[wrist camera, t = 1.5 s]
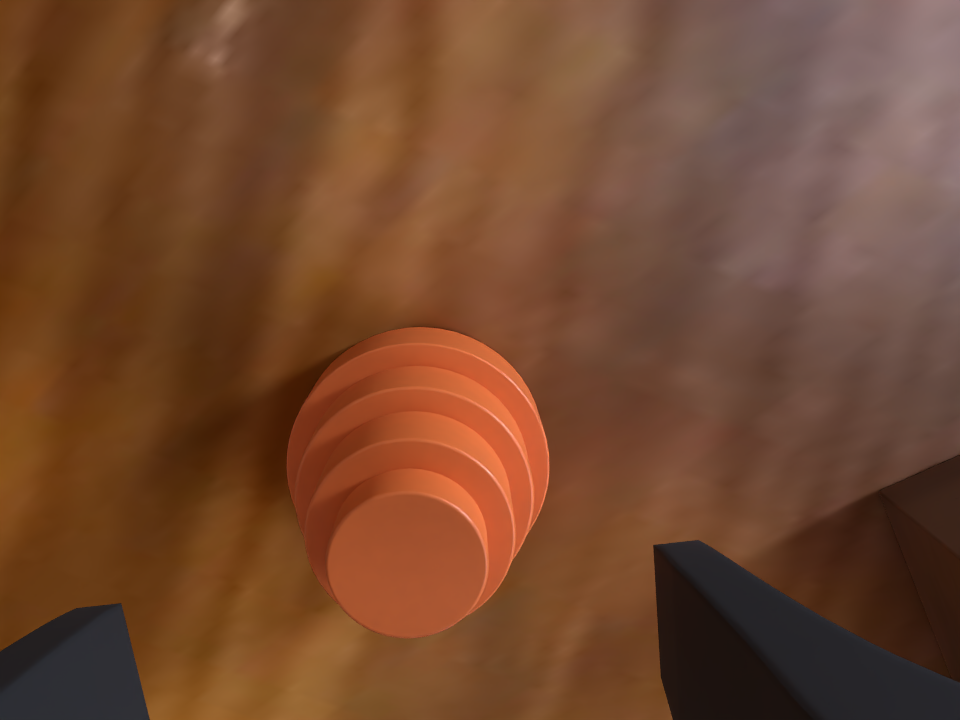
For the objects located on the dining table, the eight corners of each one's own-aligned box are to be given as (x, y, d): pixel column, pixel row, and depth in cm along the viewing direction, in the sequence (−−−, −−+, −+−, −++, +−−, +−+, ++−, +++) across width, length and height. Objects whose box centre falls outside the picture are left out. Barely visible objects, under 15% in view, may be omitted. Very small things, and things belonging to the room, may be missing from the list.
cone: (552, 542, 19) (588, 695, 14) (319, 567, 19) (266, 730, 14) (531, 313, 18) (562, 386, 12) (280, 340, 18) (204, 425, 12)
